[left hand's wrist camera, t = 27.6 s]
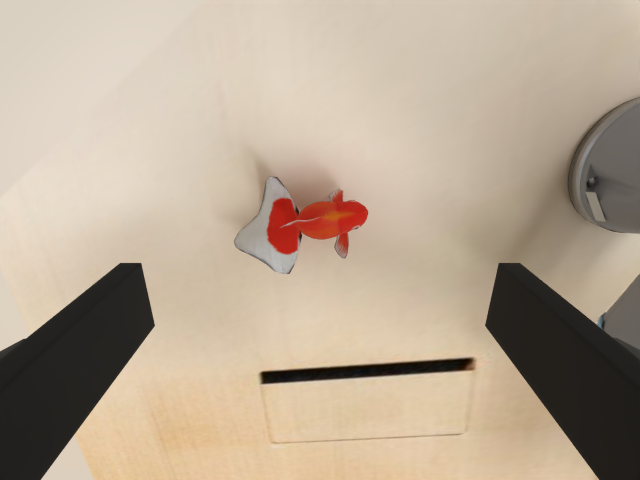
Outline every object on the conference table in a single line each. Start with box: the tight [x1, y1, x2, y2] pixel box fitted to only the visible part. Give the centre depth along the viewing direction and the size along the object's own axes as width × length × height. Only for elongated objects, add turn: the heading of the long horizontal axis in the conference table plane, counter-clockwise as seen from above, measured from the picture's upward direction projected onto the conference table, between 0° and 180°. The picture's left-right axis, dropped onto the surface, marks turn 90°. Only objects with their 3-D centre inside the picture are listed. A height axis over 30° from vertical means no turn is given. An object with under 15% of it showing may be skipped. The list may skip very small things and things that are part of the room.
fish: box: [234, 177, 368, 274], centre depth 38 cm, size 11×16×10 cm
